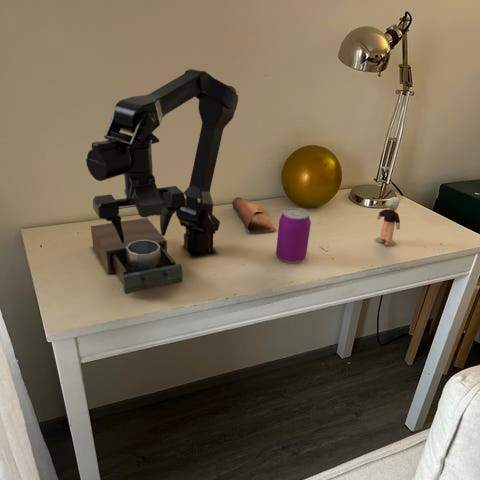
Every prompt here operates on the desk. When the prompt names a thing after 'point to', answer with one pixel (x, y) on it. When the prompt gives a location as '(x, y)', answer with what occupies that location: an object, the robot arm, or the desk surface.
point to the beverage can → (293, 235)
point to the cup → (143, 255)
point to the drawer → (146, 272)
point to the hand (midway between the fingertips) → (143, 238)
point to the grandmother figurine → (389, 221)
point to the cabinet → (132, 231)
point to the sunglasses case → (252, 216)
